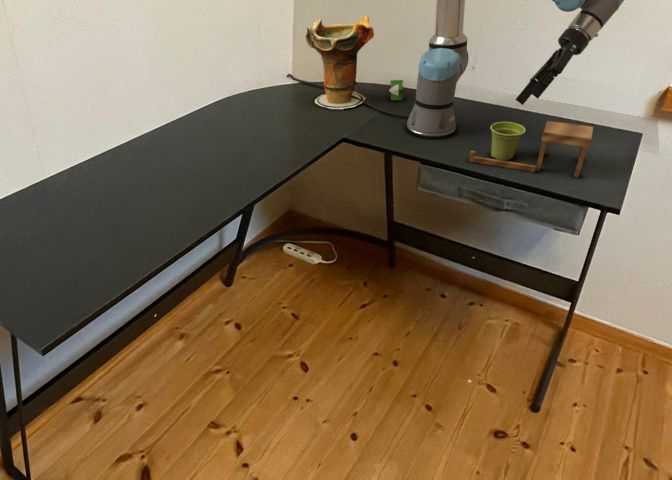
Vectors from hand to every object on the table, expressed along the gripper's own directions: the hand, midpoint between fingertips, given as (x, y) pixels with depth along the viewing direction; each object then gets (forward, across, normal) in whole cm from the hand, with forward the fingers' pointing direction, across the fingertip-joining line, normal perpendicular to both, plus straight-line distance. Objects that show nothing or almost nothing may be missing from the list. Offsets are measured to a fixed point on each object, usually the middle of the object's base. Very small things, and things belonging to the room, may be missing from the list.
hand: (526, 99), depth 172 cm
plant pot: (+16, 0, -5) cm, 17 cm away
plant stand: (+13, -2, -11) cm, 17 cm away
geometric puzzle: (+15, +41, +30) cm, 53 cm away
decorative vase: (+28, +39, +46) cm, 67 cm away
